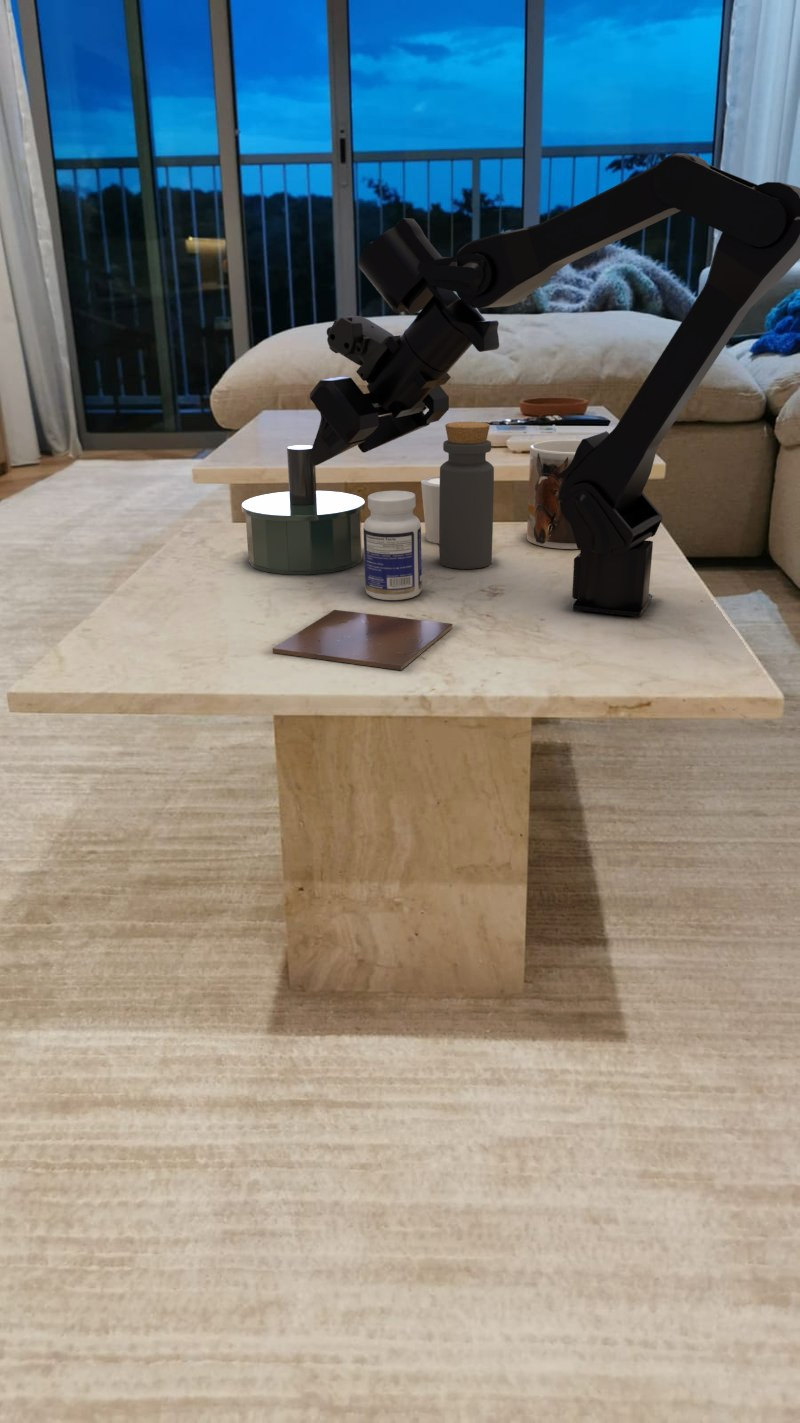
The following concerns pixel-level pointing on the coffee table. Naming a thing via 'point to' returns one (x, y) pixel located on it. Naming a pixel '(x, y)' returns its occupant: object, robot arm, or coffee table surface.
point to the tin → (304, 545)
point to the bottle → (466, 497)
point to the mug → (549, 494)
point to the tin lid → (302, 495)
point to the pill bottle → (392, 546)
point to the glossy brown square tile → (364, 639)
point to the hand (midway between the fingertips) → (337, 455)
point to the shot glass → (431, 507)
